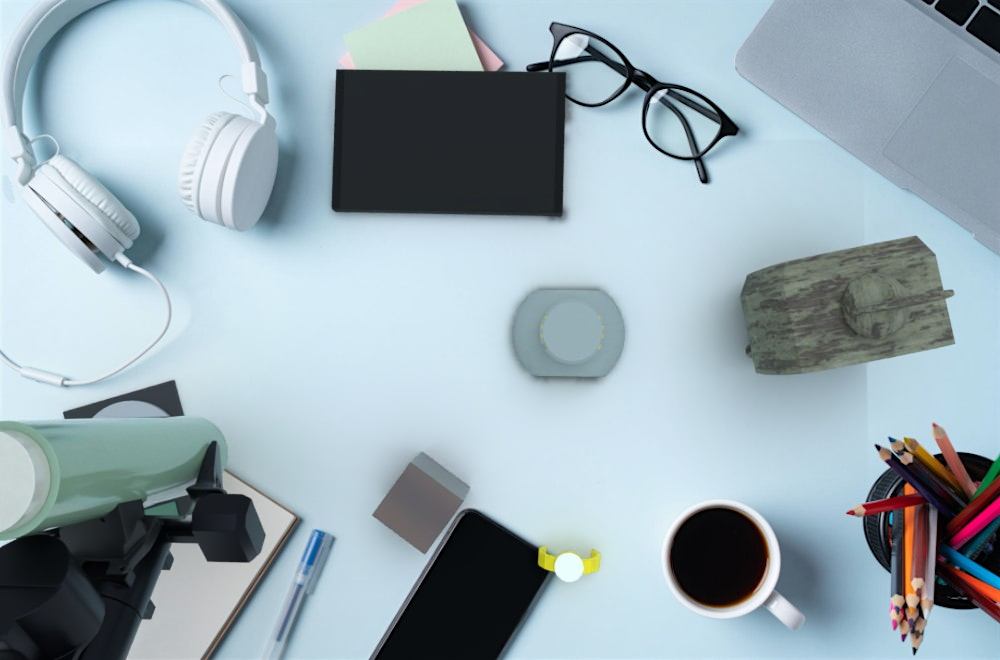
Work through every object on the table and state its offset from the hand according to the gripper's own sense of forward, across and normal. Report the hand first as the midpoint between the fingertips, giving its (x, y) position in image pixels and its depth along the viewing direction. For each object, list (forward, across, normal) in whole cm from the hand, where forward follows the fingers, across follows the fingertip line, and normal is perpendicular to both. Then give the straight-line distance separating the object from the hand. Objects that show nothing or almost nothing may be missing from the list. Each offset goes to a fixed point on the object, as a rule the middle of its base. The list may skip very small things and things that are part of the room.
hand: (174, 442), depth 68 cm
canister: (+1, 0, +3) cm, 3 cm away
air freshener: (+17, -34, +2) cm, 38 cm away
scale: (+7, +10, +12) cm, 17 cm away
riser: (+5, -21, +14) cm, 25 cm away
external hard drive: (+30, -22, -11) cm, 39 cm away
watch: (+1, -35, +18) cm, 39 cm away
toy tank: (+18, -57, +1) cm, 60 cm away
